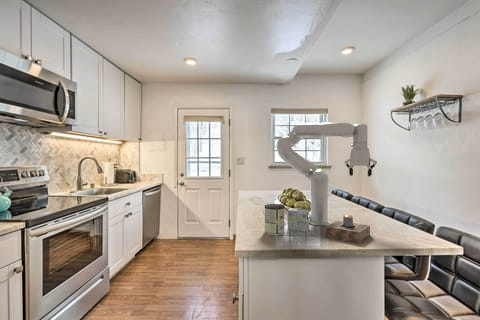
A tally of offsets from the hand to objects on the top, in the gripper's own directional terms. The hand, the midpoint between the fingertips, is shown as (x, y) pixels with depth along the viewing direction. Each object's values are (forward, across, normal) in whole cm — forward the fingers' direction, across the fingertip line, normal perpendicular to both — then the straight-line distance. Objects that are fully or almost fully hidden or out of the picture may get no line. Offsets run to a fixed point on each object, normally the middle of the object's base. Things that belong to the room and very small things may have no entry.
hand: (360, 175), depth 151 cm
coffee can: (+28, -29, -44) cm, 60 cm away
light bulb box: (+29, -23, -30) cm, 47 cm away
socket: (+28, +2, -26) cm, 38 cm away
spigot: (+27, +2, -26) cm, 38 cm away
